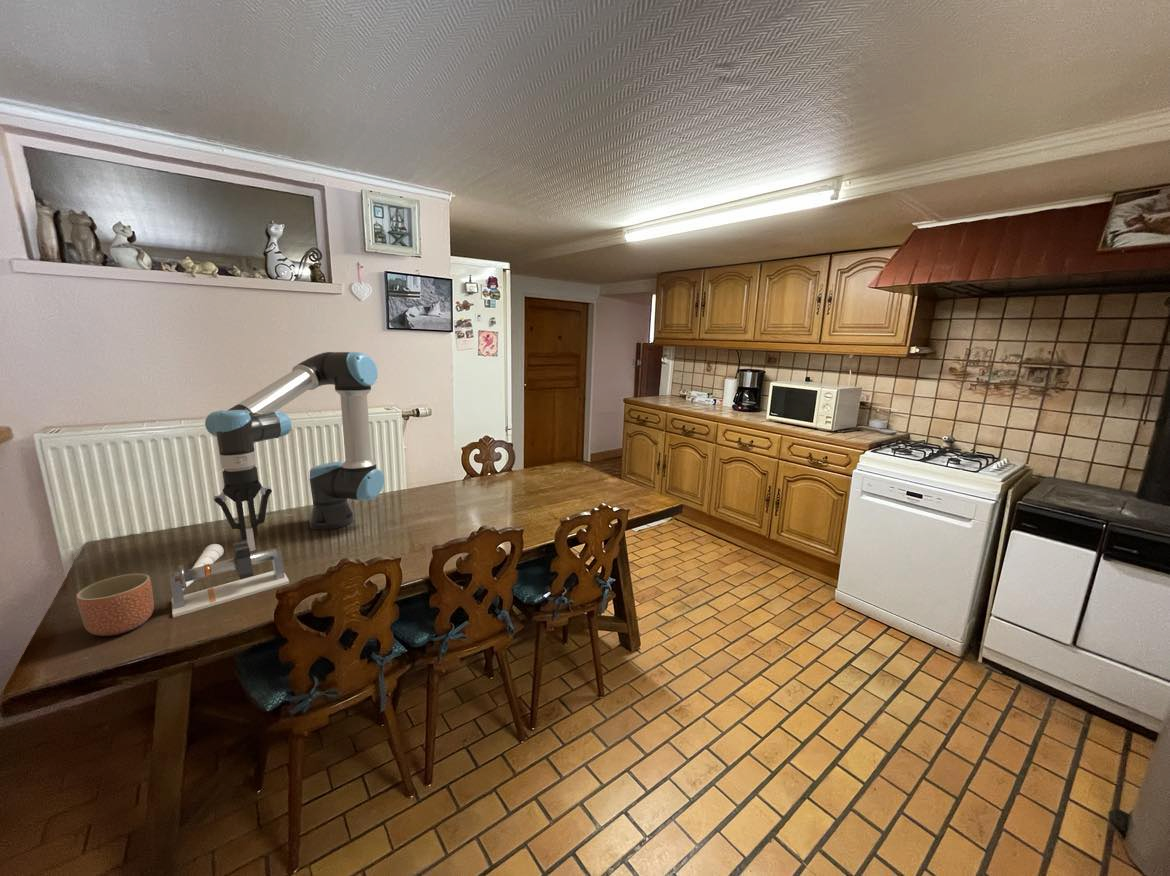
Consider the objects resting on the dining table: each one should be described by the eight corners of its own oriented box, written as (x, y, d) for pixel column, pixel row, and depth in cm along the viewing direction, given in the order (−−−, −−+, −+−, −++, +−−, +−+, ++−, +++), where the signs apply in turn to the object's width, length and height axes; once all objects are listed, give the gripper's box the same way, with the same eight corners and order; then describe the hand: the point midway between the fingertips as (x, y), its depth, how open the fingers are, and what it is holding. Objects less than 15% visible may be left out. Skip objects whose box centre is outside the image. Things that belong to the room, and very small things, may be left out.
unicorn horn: (162, 596, 124) (159, 579, 123) (208, 557, 147) (206, 543, 146) (183, 594, 125) (180, 577, 124) (225, 556, 148) (223, 542, 147)
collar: (236, 570, 129) (232, 543, 127) (249, 567, 131) (245, 540, 129) (240, 579, 124) (235, 551, 122) (253, 576, 126) (249, 548, 124)
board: (172, 601, 121) (171, 598, 121) (282, 570, 138) (282, 568, 138) (173, 617, 114) (172, 614, 114) (289, 583, 131) (289, 580, 131)
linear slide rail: (174, 603, 120) (167, 565, 118) (281, 573, 136) (277, 539, 134) (175, 613, 116) (167, 573, 114) (285, 581, 132) (281, 545, 130)
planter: (73, 635, 107) (63, 593, 105) (139, 608, 118) (132, 569, 116) (103, 648, 102) (93, 604, 100) (169, 618, 114) (161, 578, 112)
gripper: (209, 475, 116) (223, 561, 120) (271, 466, 124) (281, 546, 129) (207, 469, 121) (220, 551, 126) (266, 461, 130) (276, 538, 134)
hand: (251, 549), depth 127 cm, fingers closed
